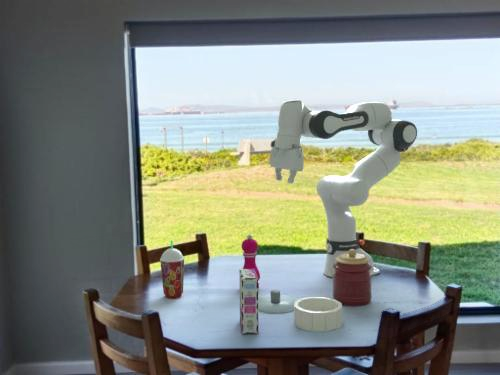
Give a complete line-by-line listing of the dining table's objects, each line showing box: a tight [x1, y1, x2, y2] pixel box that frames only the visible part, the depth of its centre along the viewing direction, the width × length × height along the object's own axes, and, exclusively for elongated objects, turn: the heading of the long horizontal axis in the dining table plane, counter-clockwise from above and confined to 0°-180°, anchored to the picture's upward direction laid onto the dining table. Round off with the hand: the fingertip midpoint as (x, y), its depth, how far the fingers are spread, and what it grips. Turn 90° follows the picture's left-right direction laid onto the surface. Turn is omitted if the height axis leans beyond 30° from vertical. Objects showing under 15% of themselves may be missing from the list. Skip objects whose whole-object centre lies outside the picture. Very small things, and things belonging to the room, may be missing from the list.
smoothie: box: [159, 240, 185, 300], centre depth 183 cm, size 8×8×20 cm
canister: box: [332, 249, 373, 307], centre depth 176 cm, size 13×13×18 cm
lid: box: [258, 289, 299, 314], centre depth 173 cm, size 16×16×5 cm
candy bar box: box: [238, 268, 259, 335], centre depth 153 cm, size 11×5×16 cm, turn 5°
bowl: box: [293, 296, 343, 332], centre depth 157 cm, size 14×14×6 cm
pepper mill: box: [241, 234, 261, 289], centre depth 190 cm, size 7×7×20 cm
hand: (284, 181), depth 192 cm, fingers open, 8 cm apart
